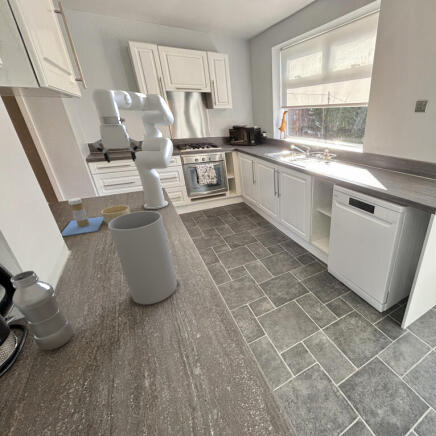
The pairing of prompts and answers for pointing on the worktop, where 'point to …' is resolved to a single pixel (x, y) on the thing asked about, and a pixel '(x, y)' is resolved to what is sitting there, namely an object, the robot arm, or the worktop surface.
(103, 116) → the robot arm
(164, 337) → the worktop surface
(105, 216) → the bowl
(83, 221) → the sprinkles bottle
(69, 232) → the cloth
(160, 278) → the cylinder vase
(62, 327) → the plastic bottle
